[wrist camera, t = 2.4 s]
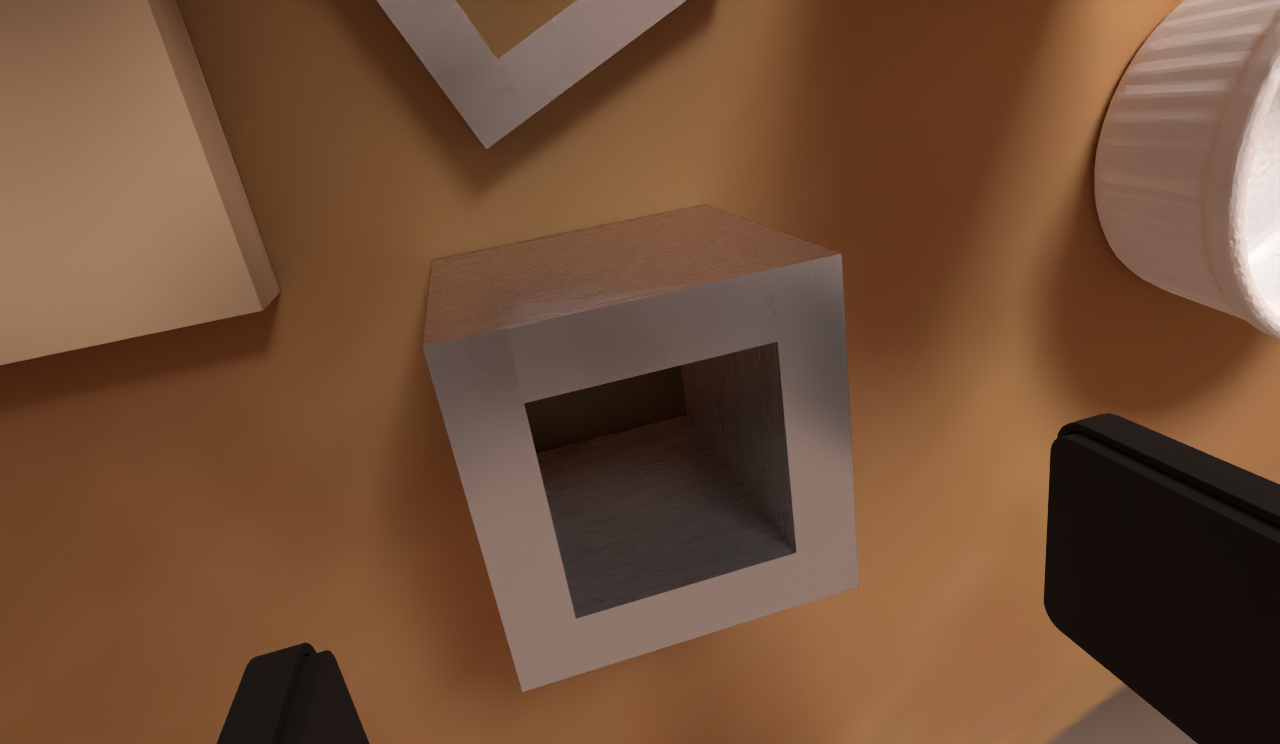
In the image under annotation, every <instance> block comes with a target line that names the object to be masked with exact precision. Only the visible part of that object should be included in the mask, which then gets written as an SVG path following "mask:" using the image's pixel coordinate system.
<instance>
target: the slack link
mask: <svg viewBox="0 0 1280 744" xmlns="http://www.w3.org/2000/svg"><path fill="white" fill-rule="evenodd" d="M376 1H377V3H378V4H379V5H380V7H381V8H382V9H383V11H384V12H385V13H386V15H387V16H388V17H389V19H390V20H391V22H392V23H393V24H394V26H395V27H396V28H397V30H398V31H399V32H400V34H401V35H402V36H403V38H404V39H405V41H406V42H407V43H408V45H409V46H410V47H411V49H412V50H413V51H414V53H415V54H416V55H417V57H418V58H419V59H420V61H421V62H422V64H423V65H424V66H425V68H426V69H427V70H428V72H429V73H430V74H431V76H432V77H433V78H434V80H435V81H436V82H437V84H438V85H439V87H440V88H441V89H442V91H443V92H444V93H445V95H446V96H447V97H448V99H449V100H450V101H451V103H452V104H453V106H454V107H455V108H456V110H457V111H458V112H459V114H460V115H461V116H462V118H463V119H464V120H465V122H466V123H467V124H468V126H469V127H470V129H471V130H472V131H473V133H474V134H475V135H476V137H477V138H478V139H479V141H480V142H481V143H482V145H483V146H484V147H485V148H486V149H488V148H489V147H491V146H492V145H493V144H495V143H496V142H497V141H499V140H500V139H501V138H503V137H504V136H505V135H507V134H508V133H509V132H511V131H512V130H513V129H515V128H516V127H517V126H519V125H520V124H521V123H523V122H524V121H525V120H527V119H528V118H529V117H531V116H532V115H533V114H535V113H536V112H537V111H539V110H540V109H541V108H543V107H544V106H546V105H547V104H548V103H550V102H551V101H552V100H554V99H555V98H556V97H558V96H559V95H560V94H562V93H563V92H564V91H566V90H567V89H568V88H570V87H571V86H572V85H574V84H575V83H576V82H578V81H579V80H580V79H582V78H583V77H584V76H586V75H587V74H588V73H590V72H591V71H592V70H594V69H595V68H596V67H598V66H599V65H600V64H602V63H603V62H604V61H606V60H607V59H609V58H610V57H611V56H613V55H614V54H615V53H617V52H618V51H619V50H621V49H622V48H623V47H625V46H626V45H627V44H629V43H630V42H631V41H633V40H634V39H635V38H637V37H638V36H639V35H641V34H642V33H643V32H645V31H646V30H647V29H649V28H650V27H651V26H653V25H654V24H655V23H657V22H658V21H659V20H661V19H662V18H663V17H665V16H666V15H667V14H669V13H670V12H672V11H673V10H674V9H676V8H677V7H678V6H680V5H681V4H682V3H684V2H685V1H686V0H576V1H575V2H573V3H572V4H571V5H569V6H568V7H567V8H565V9H564V10H563V11H561V12H560V13H559V14H557V15H556V16H555V17H553V18H552V19H551V20H549V21H548V22H547V23H545V24H544V25H543V26H541V27H540V28H539V29H537V30H536V31H535V32H533V33H532V34H531V35H529V36H528V37H526V38H525V39H524V40H522V41H521V42H520V43H518V44H517V45H516V46H514V47H513V48H512V49H510V50H509V51H508V52H506V53H505V54H504V55H502V56H501V57H500V58H498V59H496V57H495V56H494V54H493V53H492V51H491V50H490V49H489V47H488V46H487V44H486V43H485V41H484V40H483V38H482V37H481V36H480V34H479V33H478V31H477V30H476V28H475V27H474V25H473V24H472V22H471V21H470V20H469V18H468V17H467V15H466V14H465V12H464V11H463V9H462V8H461V6H460V5H459V4H458V2H457V1H456V0H376Z"/></svg>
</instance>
